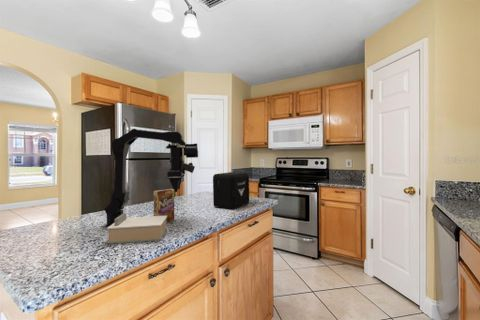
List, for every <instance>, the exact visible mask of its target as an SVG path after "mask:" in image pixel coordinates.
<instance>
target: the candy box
mask: <svg viewBox="0 0 480 320" xmlns="http://www.w3.org/2000/svg"><path fill="white" fill-rule="evenodd" d="M153 216H167V218H166V223H167V222H174V221H175V219H176V218H175V191H174V189H173V188H166V189H158V190H153Z"/></svg>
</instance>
